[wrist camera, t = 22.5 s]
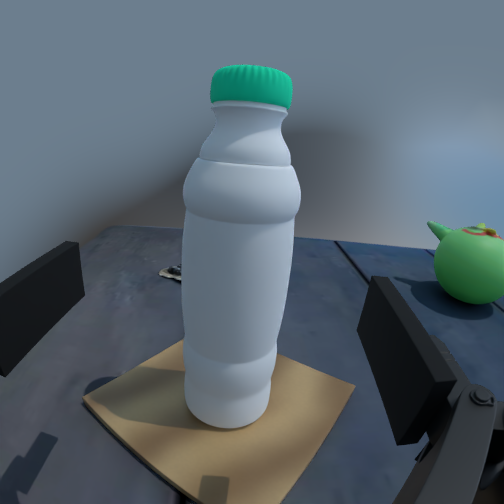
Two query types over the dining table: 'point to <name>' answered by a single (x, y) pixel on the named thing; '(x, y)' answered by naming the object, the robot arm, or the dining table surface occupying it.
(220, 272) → the water bottle
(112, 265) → the dining table surface
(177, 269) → the geode
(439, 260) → the toy bird
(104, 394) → the gold metal sheet
